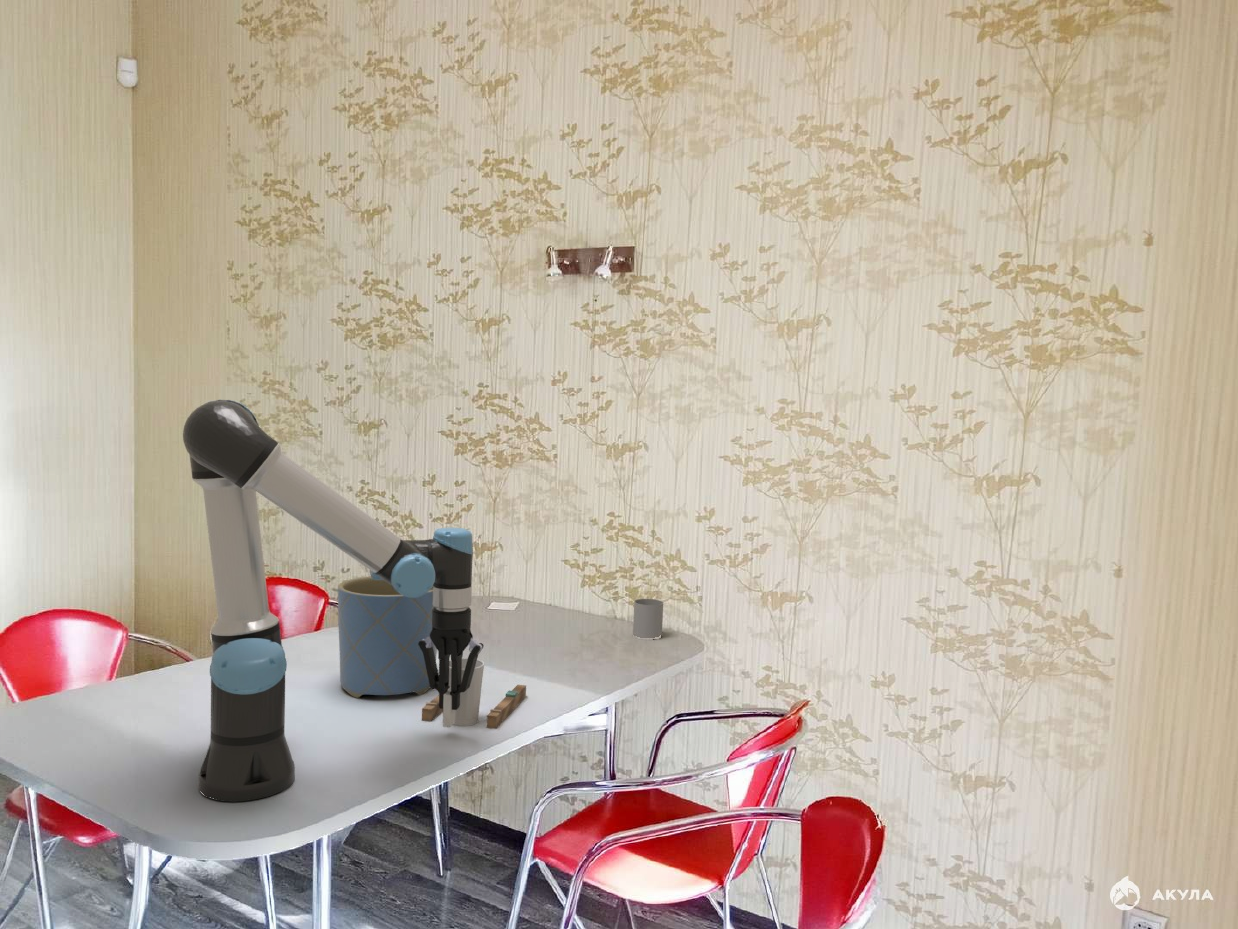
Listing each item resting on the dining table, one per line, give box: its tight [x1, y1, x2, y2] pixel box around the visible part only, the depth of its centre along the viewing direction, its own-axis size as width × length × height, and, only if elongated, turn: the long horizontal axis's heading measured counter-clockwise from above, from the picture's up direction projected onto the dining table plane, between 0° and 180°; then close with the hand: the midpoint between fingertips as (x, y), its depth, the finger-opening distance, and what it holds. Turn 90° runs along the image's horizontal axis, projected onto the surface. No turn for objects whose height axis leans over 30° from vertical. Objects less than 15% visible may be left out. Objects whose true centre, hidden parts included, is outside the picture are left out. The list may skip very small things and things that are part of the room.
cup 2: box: [632, 598, 664, 638], centre depth 262 cm, size 8×8×10 cm
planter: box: [337, 575, 438, 699], centre depth 209 cm, size 23×23×24 cm
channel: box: [421, 684, 527, 729], centre depth 197 cm, size 21×16×3 cm
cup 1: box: [448, 657, 485, 727], centre depth 189 cm, size 8×8×12 cm
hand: (448, 724), depth 181 cm, fingers closed
